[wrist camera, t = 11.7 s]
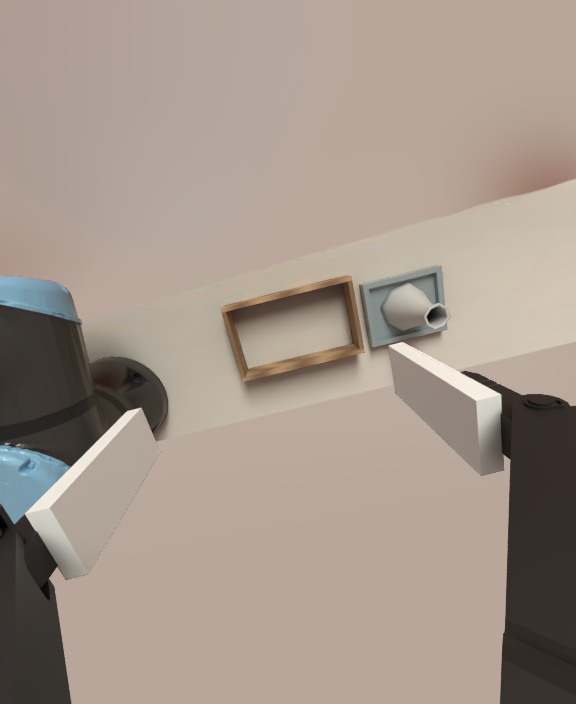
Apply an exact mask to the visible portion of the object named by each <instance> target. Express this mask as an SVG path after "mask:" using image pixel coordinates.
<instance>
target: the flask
mask: <svg viewBox="0 0 576 704" xmlns="http://www.w3.org/2000/svg"><path fill="white" fill-rule="evenodd" d="M381 310H382V312H383V315H384V317H385V320H386V323H387V324H389V325H391V326H393V327H395V328H396V329H398V330H400V331H404V330H407V329H410V328H412V327H416V326H419V325H426V326H428V327H430V328H432V329H434V330H436V329H439V328H441V327H443V326H445V324H446V323H447V321H448V320H449V318H450V314H449V311H448V308H447V307H445V306H443V305H442V304H440V303H437V304H431V302H430V301H429V300H428V298H427V297H426V295H425V293H424V292H423V291H422V290H420V289H419V288H417V287H415V286H414V285H412V284H410V283H408V282H407V283H405V284H403V285H401V286H399V287H397V288H394V289H392V290H390V292H389V294H388V295H387V297H386V299H385V300H384V302H383V304H382V305H381Z"/></svg>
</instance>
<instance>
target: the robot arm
mask: <svg viewBox="0 0 576 704" xmlns="http://www.w3.org/2000/svg"><path fill="white" fill-rule="evenodd" d="M81 325H82V321H81V320H80V319H79V318H78V315H77V312H76V309H75V305H74V302H73V299H72V296H71V293H70V292H69V291H68V289H67V288H65V287H64V286H63V285H61V284H59V283H57V282H54V281H49V280H41V279H33V278H22V277H8V276H0V704H71V698H70V691H69V684H68V677H67V671H66V665H65V657H64V650H63V644H62V637H61V630H60V623H59V617H58V610H57V602H56V595H55V589H54V586H53V584H52V583H51V581H50V580H49V577H50V576H51V575H52V573H53V572H54V570H55V569H56V567H58V568H59V570H60V572H61V573H62V575H63V577H64V578H65V580H68V579H72V578H76V577H80V576H84V575H88V574H89V573H90V571H91V569H92V567H93V566H94V564H95V562H96V561H97V559H98V557H99V556H100V554H101V552H102V551H103V549H104V547H105V545H106V544H107V542H108V540H109V539H110V537H111V535H112V534H113V532H114V530H115V529H116V527H117V525H118V524H119V522H120V520H121V518H122V517H123V515H124V513H125V511H126V510H127V508H128V506H129V505H130V503H131V501H132V500H133V498H134V496H135V495H136V493H137V491H138V489H139V488H140V486H141V484H142V482H143V481H144V479H145V477H146V476H147V474H148V473H149V471H150V469H151V467H152V466H153V464H154V462H155V461H156V459H157V457H158V456H159V454H160V450H159V448H158V445H157V443H156V441H155V438H154V436H153V434H154V433H155V432H156V430H157V429H158V428H159V426H160V425H161V424H162V422H163V420H164V418H165V416H166V413H167V408H168V399H167V394H166V391H165V388H164V386H163V384H162V382H161V381H160V379H159V378H158V377H157V376H156V375H155V374H154V373H153V372H152V371H151V370H150V369H149V368H147V367H146V366H144V365H143V364H141V363H139V362H137V361H134V360H131V359H128V358H122V357H109V358H104V359H100V360H97V361H95V362H93V363H91V364H90V362H89V358H88V354H87V350H86V345H85V341H84V337H83V333H82V328H81ZM388 347H389V354H390V360H391V367H392V374H393V381H394V387H395V393H396V394H397V395H398V396H399V397H400V398H401V399H402V400H403V401H404V402H405V403H406V404H407V405H408V406H409V407H410V408H411V409H412V410H413V411H414V412H415V413H416V414H417V415H418V416H419V417H420V418H421V419H422V420H423V421H425V422H426V423H427V424H428V425H429V426H430V427H431V428H432V429H433V430H434V431H435V432H436V433H437V434H438V435H439V436H440V437H441V438H442V439H443V440H444V441H445V442H446V443H447V444H448V445H450V446H451V448H453V450H455V451H456V452H457V453H458V454H459V455H460V456H461V457H462V458H463V459H464V460H465V461H466V462H467V463H468V464H469V465H470V466H471V467H472V468H473V469H474V470H475V471H476V472H477V473H478V474H480V476H483V475H487V474H491V473H496V472H499V471H503V470H504V459H503V454H504V455H505V456H506V457H508V458H509V459H510V460H511V462H510V493H509V525H508V555H507V556H508V557H507V586H506V618H505V632H504V634H503V645H502V668H501V694H500V704H576V406H570V405H569V404H568V402H566V401H564V400H562V399H560V398H557V397H553V396H550V395H543V394H527V395H520V394H518V393H516V392H514V391H512V390H510V389H508V388H506V387H504V386H502V385H500V384H497V383H496V382H494V381H492V380H489V379H488V378H486V377H484V376H482V375H480V374H477V373H472V372H468V371H463V372H458V371H456V370H454V369H452V368H450V367H449V366H447V365H445V364H443V363H441V362H439V361H437V360H435V359H434V358H432V357H430V356H428V355H426V354H424V353H422V352H420V351H419V350H417V349H415V348H413V347H411V346H409V345H407V344H405V343H404V342H401V343H397V344H393V345H389V346H388Z"/></svg>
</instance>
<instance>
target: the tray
mask: <svg viewBox="0 0 576 704" xmlns="http://www.w3.org/2000/svg"><path fill="white" fill-rule="evenodd" d="M407 282H408V283H410V284H412V285H414V286H415V287H417V288H419V289H420V290H422V291H423V292H424V293H425V295H426V297H427V298H428V300H429V301H430V302H431V304H437V303H440V304H442V305H443V306H445V300H444V289H443V278H442V267H441V266H432V267H428V268H424V269H420V270H416V271H412V272H408V273H404V274H400V275H396V276H392V277H388V278H384V279H380V280H376V281H372V282H368V283H364V284H360V290H361V296H362V302H363V308H364V314H365V320H366V326H367V332H368V338H369V344H370V345H371V346H372V347H377V346H381V345H385V344H390V343H394V342H398V341H402V340H406V339H410V338H414V337H418V336H423V335H427V334H431V333H435V332H439V331H443V330H447V323H446V324H445V326H443V327H441V328H439V329H436V330H434V329H432V328H430V327H428V326H426V325H419V326H416V327H412V328H410V329H407V330H404V331H400V330H398V329H396V328H395V327H393V326H391V325H389V324H387V323H386V320H385V317H384V315H383V312H382V310H381V305H382V304H383V302H384V300H385V299H386V297H387V295H388V294H389V292H390V290H392V289H394V288H397V287H399V286H401V285H403V284H405V283H407Z"/></svg>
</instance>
